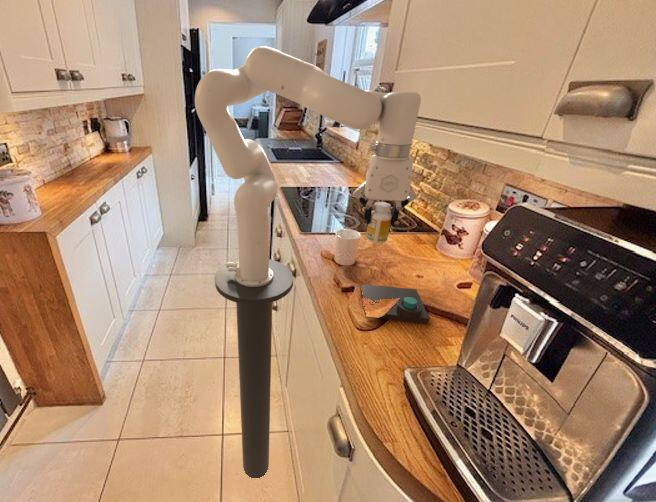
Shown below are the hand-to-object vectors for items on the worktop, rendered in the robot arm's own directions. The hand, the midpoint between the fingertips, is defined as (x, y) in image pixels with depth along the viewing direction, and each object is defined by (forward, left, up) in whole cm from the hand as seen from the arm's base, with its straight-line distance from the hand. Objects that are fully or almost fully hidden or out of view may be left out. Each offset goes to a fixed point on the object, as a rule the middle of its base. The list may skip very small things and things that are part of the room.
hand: (379, 222), depth 84 cm
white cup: (-5, +17, -21) cm, 28 cm away
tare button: (+9, -10, -18) cm, 23 cm away
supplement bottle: (0, 0, -5) cm, 5 cm away
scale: (+6, -6, -21) cm, 23 cm away
